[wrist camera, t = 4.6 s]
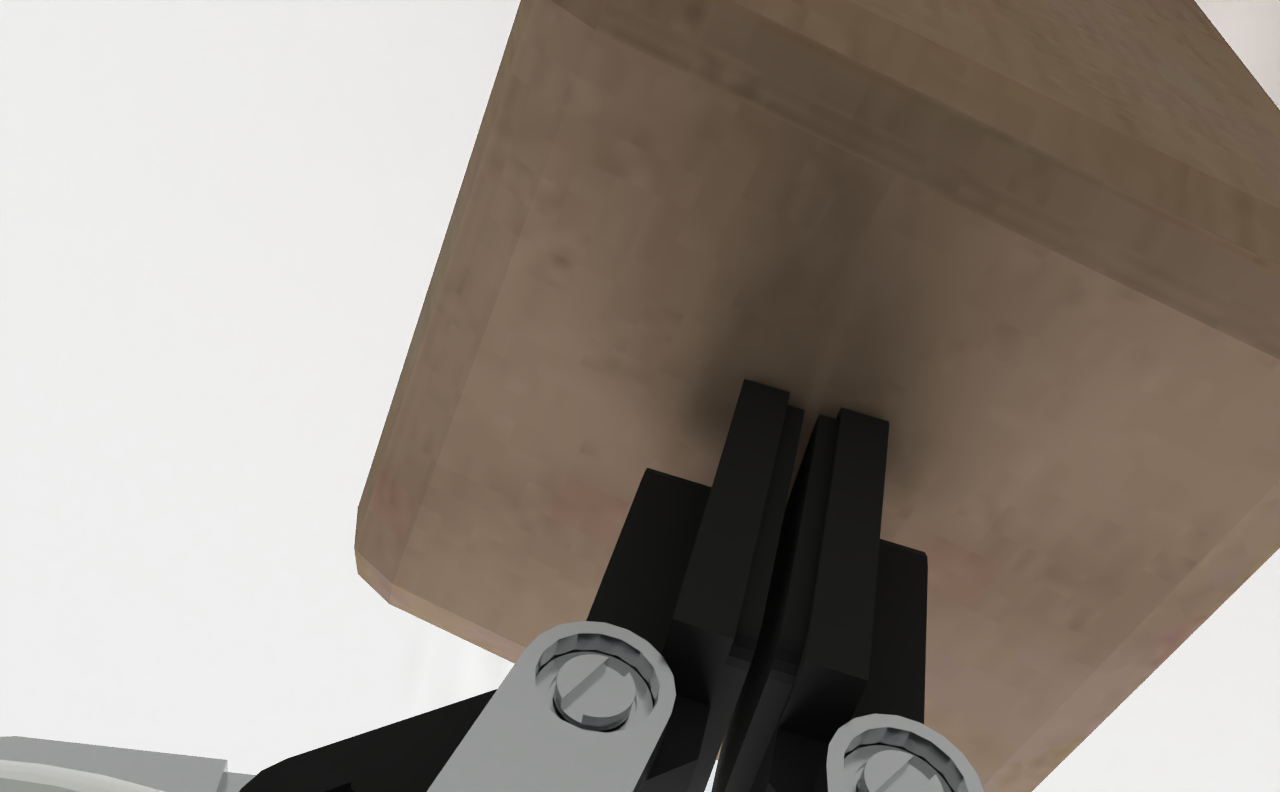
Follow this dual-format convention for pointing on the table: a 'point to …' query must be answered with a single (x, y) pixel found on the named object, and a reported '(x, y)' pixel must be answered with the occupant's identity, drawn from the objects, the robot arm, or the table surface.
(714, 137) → the block
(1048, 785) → the table surface
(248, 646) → the table surface
